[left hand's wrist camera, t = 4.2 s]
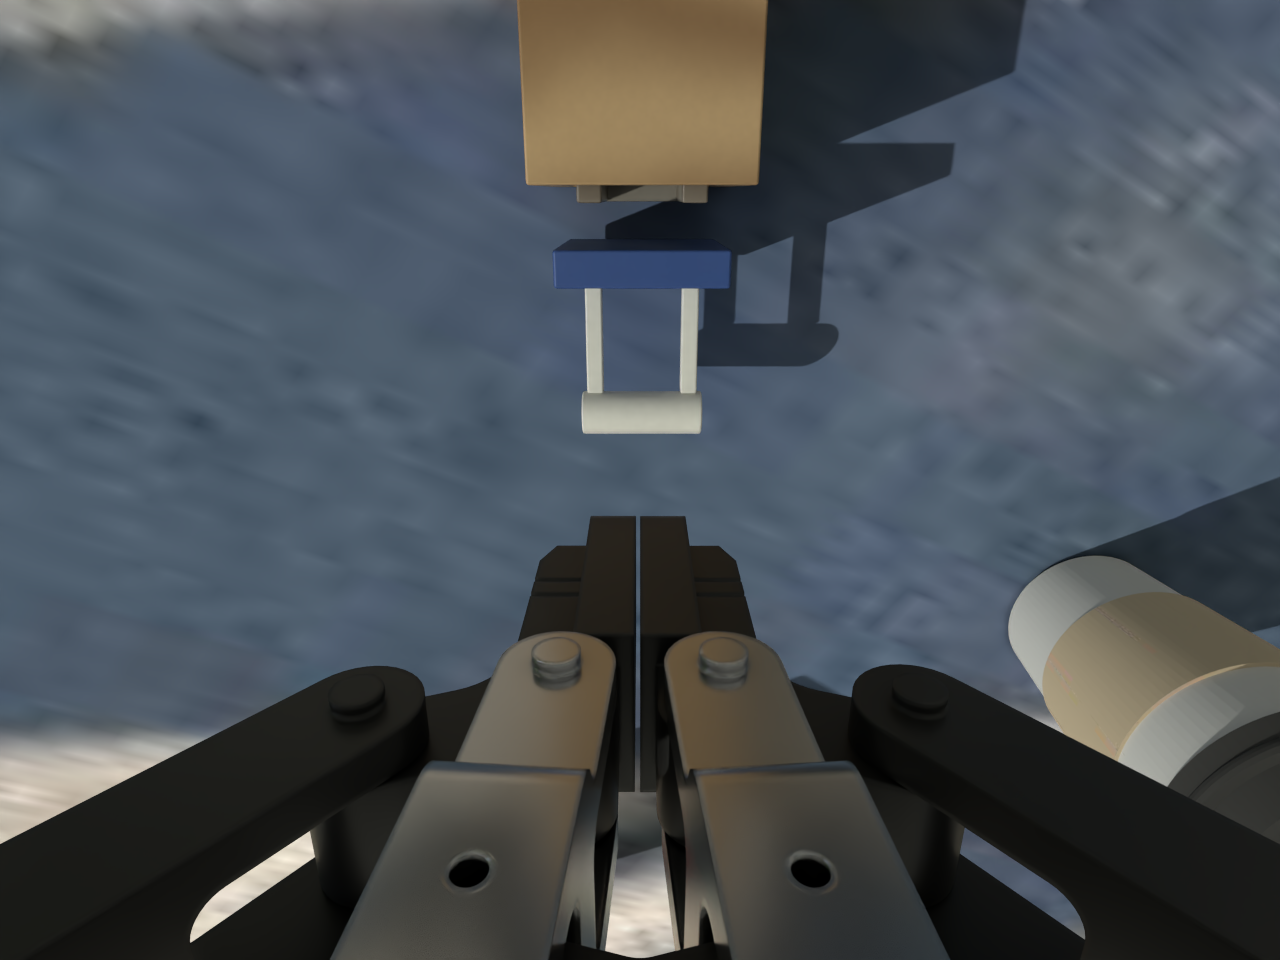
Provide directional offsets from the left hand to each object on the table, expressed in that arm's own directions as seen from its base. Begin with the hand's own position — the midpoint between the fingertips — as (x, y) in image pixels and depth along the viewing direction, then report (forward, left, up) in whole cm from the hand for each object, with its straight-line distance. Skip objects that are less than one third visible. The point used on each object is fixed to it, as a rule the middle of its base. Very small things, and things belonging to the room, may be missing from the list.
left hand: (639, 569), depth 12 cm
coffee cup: (+13, +22, -21) cm, 33 cm away
